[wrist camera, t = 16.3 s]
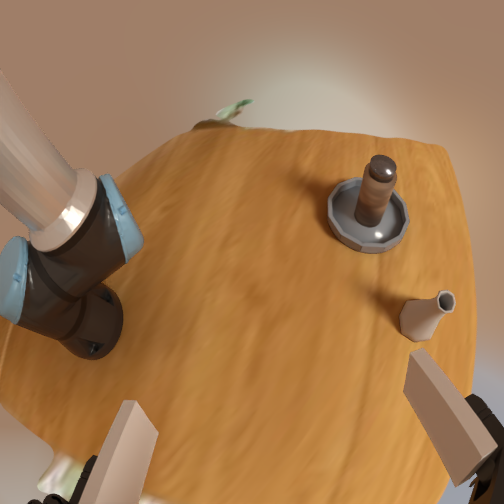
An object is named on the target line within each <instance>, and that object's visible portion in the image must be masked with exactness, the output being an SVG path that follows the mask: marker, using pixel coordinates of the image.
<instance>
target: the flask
mask: <svg viewBox="0 0 504 504" xmlns="http://www.w3.org/2000/svg"><path fill="white" fill-rule="evenodd" d="M455 304H456V302H455V297H454V294H453V293H451V292H450V291H448V290H442V291H439V293H438V295H437V296H436V297H435V298H432V299H420V300H410V301H406V303H405V305H404V307H403V309H402V311H401V313H400V315H399V319H400V328H401V334H403V335H404V336H406V337H407V338H409V339H410V340H412V341H413V342H420V341H426V340H430V338H431V337H432V335H433V332H434V330H435V328H436V327H437V325H438V323H439V321H440V319H441V318H442V317H443V316H444V315H445V314H446V313H452V312H453V310H454V307H455Z"/></svg>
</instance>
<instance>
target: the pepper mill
mask: <svg viewBox="0 0 504 504" xmlns="http://www.w3.org/2000/svg"><path fill="white" fill-rule="evenodd" d="M395 171H396V164H395V162H394V161H393V160H392V159H391V158H389V157H387V156H384V155H375V156H373V157H372V158H371V161H370V163H368V164H367V165H366V167H365V170H364V174H363V179H362V183H361V188H360V192H359V196H358V200H357V204H356V208H355V212H354V216H355V219H356V220H357V222H358V223H359V224H361V225H362V226H364V227H369V228H372V227H376V226H377V225H379V224H380V222H381V220H382V217H383V215H384V212H385V210H386V207H387V205H388V202H389V199H390V197H391V194H392V191H393V189H394V186H395V183H396V180H397V174H396V172H395Z"/></svg>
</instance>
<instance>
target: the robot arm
mask: <svg viewBox="0 0 504 504" xmlns="http://www.w3.org/2000/svg"><path fill="white" fill-rule="evenodd" d="M0 204H1V205H2V206H3V207H4V208H6V209H7V210H8V211H9V212H10V213H11V214H13V215H14V216H15V217H16V218H17V219H18V220H20V221H21V222H22V223H23V224H25V225H26V226H27V227H28V228H29V238H30V241H27V240H26V239H25V238H24V237H20V236H16V237H13V238H12V239H10V240H9V241H8V243H7V244H6V245H5V247H4V249H3V250H2V252H1V255H0V315H1V316H3V317H4V318H6V319H8V320H10V321H11V322H12V323H13V324H16V325H19V326H21V327H24V328H26V329H29V330H31V331H34V332H36V333H39V334H42V335H44V336H47V337H50V338H53V339H56V340H58V341H59V342H60V343H61V344H62V345H64V346H65V347H66V348H67V349H68V350H69V351H70V352H72V353H73V354H74V355H76V356H78V357H81V358H84V359H88V360H97V359H100V358H102V357H104V356H106V355H107V354H108V353H109V352H110V351H111V350H112V349H113V348H114V346H115V345H116V343H117V341H118V339H119V337H120V334H121V330H122V325H123V310H122V305H121V302H120V300H119V298H118V296H117V295H116V293H115V292H114V291H113V290H111V289H110V288H108V287H107V286H105V285H104V284H102V283H101V282H102V281H103V280H105V279H106V278H107V277H109V276H110V275H111V274H112V273H114V272H115V271H116V270H118V269H119V268H120V267H122V266H123V265H124V264H127V263H128V261H129V260H130V259H131V258H132V257H133V256H134V255H135V254H136V253H138V252H139V251H140V250H141V249H142V247H143V244H144V238H143V235H142V233H141V231H140V229H139V227H138V225H137V223H136V221H135V219H134V218H133V216H132V214H131V212H130V210H129V208H128V206H127V204H126V203H125V201H124V199H123V197H122V195H121V193H120V191H119V189H118V187H117V185H116V184H115V182H114V180H113V178H112V177H111V175H110V174H105V175H101V176H100V177H99V179H97V178H96V177H95V175H94V174H93V173H92V172H91V171H90V170H88V169H84V168H79V169H72V167H71V166H70V165H69V164H68V163H67V162H66V160H65V159H64V158H63V156H62V155H61V154H60V153H59V151H58V150H57V149H56V148H55V146H54V145H53V144H52V143H51V142H50V140H49V139H48V137H47V136H46V135H45V133H44V132H43V131H42V129H41V128H40V127H39V126H38V124H37V123H36V121H35V120H34V119H33V117H32V116H31V115H30V113H29V112H28V110H27V109H26V107H25V106H24V105H23V103H22V102H21V100H20V99H19V97H18V96H17V94H16V93H15V91H14V90H13V88H12V87H11V85H10V84H9V82H8V80H7V79H6V77H5V76H4V74H3V72H2V71H1V69H0ZM403 392H404V394H405V396H406V397H407V399H408V401H409V402H410V404H411V406H412V408H413V409H414V411H415V413H416V414H417V416H418V418H419V420H420V421H421V423H422V425H423V427H424V428H425V430H426V432H427V434H428V436H429V437H430V439H431V441H432V443H433V445H434V447H435V449H436V450H437V452H438V454H439V456H440V458H441V460H442V462H443V464H444V466H445V468H446V470H447V472H448V473H449V475H450V477H451V480H452V482H453V483H454V486H455V487H457V486H459V485H461V484H462V483H464V482H465V481H467V480H468V479H470V478H471V477H472V476H473V475H474V474H475V473H476V474H477V477H476V478H475V479H474V480H473V481H472V482H471V484H470V486H469V487H472V486H473V485H474V484H475V485H474V488H473V491H472V495H471V498H470V500H469V503H468V504H504V427H503V426H502V424H501V423H500V422H499V420H498V419H497V418H496V416H495V415H494V414H492V411H491V410H490V409H489V408H488V406H487V405H486V403H485V402H484V401H483V400H482V399H481V398H480V397H478V396H476V395H474V394H471V395H469V396H468V397H466V398H463V396H462V395H461V394H460V392H459V391H458V390H457V388H456V387H455V386H454V385H453V383H452V382H451V381H450V380H449V378H448V377H447V376H446V375H445V373H444V372H443V371H442V370H441V368H440V367H439V366H438V365H437V364H436V362H435V361H434V360H433V359H432V358H431V356H430V355H429V354H428V353H427V352H426V350H425V349H424V348H421V349H418V350H416V351H413V352H411V353H410V356H409V362H408V368H407V374H406V380H405V385H404V390H403ZM158 434H159V433H158V431H157V430H156V429H155V427H154V426H153V424H152V423H151V422H150V420H149V419H148V417H147V416H146V414H145V413H144V411H143V410H142V408H141V407H140V405H139V404H138V402H137V401H136V400H124V401H123V403H122V405H121V407H120V409H119V411H118V414H117V416H116V418H115V420H114V422H113V424H112V426H111V428H110V431H109V433H108V435H107V437H106V439H105V442H104V444H103V446H102V448H101V451H100V453H99V455H98V456H95V455H93V456H92V457H91V458H90V459H89V460H88V461H87V462H86V464H85V467H84V469H83V472H82V473H81V476H80V477H81V478H79V480H78V483H77V485H76V487H75V490H74V492H73V494H72V497H71V499H70V501H69V502H68V501H66V500H65V499H64V498H62V497H61V496H60V495H57V494H50V495H48V496H46V498H45V499H44V501H43V503H41V502H40V501H39V500H35V499H34V500H31V501H29V502H28V504H138V503H139V500H140V496H141V492H142V489H143V485H144V481H145V478H146V474H147V471H148V467H149V464H150V460H151V457H152V454H153V450H154V447H155V443H156V440H157V437H158Z"/></svg>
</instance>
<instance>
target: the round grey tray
mask: <svg viewBox="0 0 504 504" xmlns="http://www.w3.org/2000/svg"><path fill="white" fill-rule="evenodd" d="M362 179H363V178H359V177H354V178H352V179H349V180H347V181H344V182H341V183H339V184H338V185H337V186H336V187H335V189H334V190H333V191H332V193H331V194H330V196H329V197H328V202H327V217H328V223H329V225H330V228H331V230H332V231H333V233H334V234H335V236H336V237H337V238H338V239H339V240H340V241H341V242H342V243H343V244H345V245H346V246H348V247H349V248H351V249H353V250H356V251H359V252H362V253H368V254H377V253H382V252H386V251H388V250H390V249H392V248H393V247H395V246H396V245H397V244H399V243H400V241H401V240H402V238H403V236H404V234H405V231H406V229H407V227H408V224H409V222H410V221H409V216H408V211H407V206H406V203H405V202H404V201H403V199H402V198H401V197H400V196H399V194H398V193H397V192H396V191H395V190H394V189H393V191H392V194H391V197H390V199H389V202H388V205H387V207H386V210H385V212H384V215H383V217H382V220H381V222H380V224H379V225H377V226H376V227H372V228H369V227H364V226H362V225H361V224H359V223H358V222H357V220H356V219H355V216H354V212H355V208H356V204H357V200H358V196H359V192H360V188H361V183H362Z"/></svg>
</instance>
